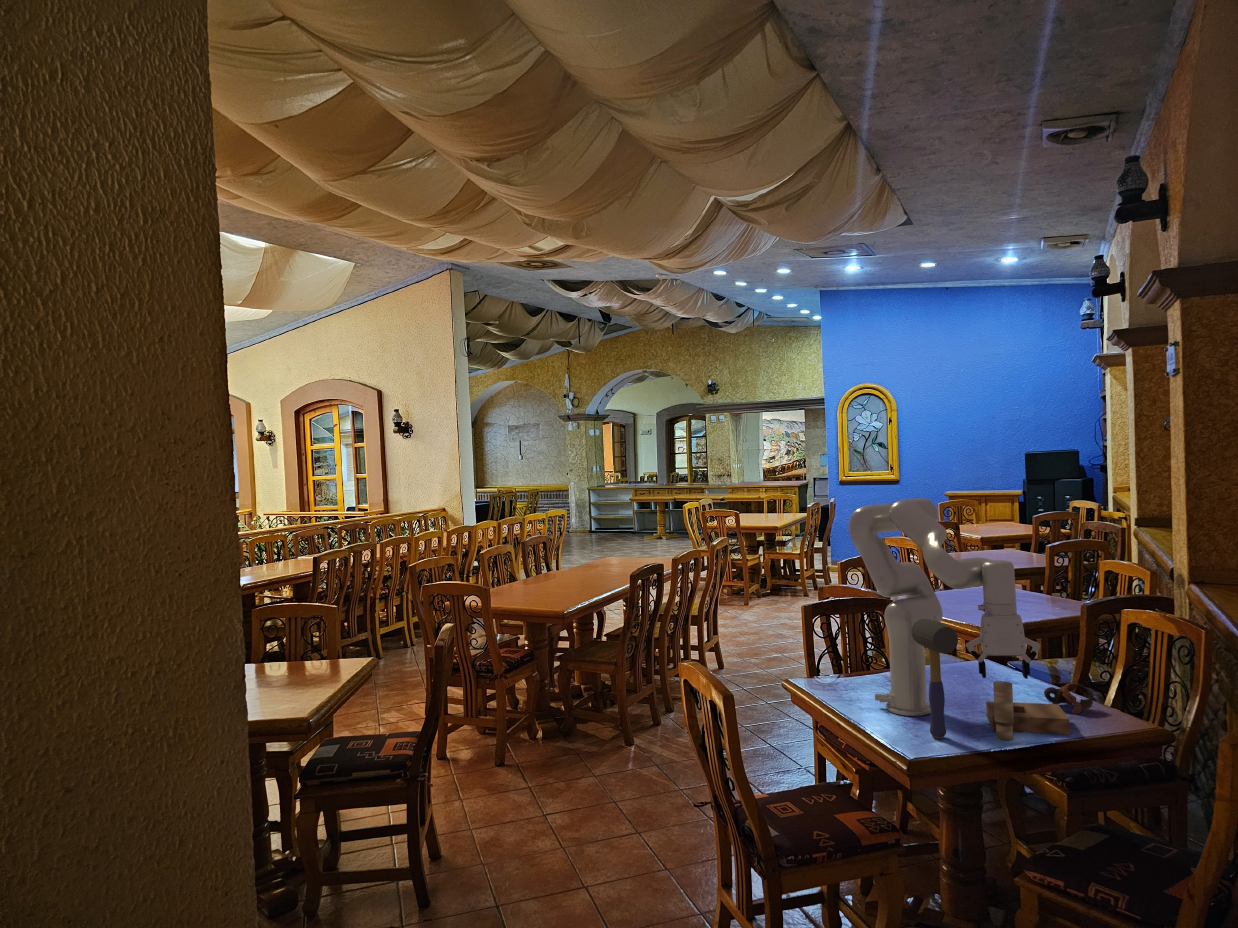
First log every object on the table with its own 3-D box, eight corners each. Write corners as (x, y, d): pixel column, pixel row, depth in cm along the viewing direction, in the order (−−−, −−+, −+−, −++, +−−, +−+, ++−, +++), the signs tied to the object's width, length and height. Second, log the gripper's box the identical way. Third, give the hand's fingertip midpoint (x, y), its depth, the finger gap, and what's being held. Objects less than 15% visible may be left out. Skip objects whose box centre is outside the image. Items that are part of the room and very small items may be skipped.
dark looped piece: (1081, 705, 238) (1092, 684, 234) (1088, 729, 230) (1100, 707, 226) (1037, 693, 240) (1047, 672, 236) (1042, 717, 232) (1053, 695, 228)
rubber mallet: (912, 731, 220) (908, 617, 220) (939, 728, 221) (935, 615, 221) (936, 746, 208) (932, 626, 208) (965, 744, 209) (960, 624, 209)
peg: (996, 740, 211) (994, 685, 210) (993, 734, 215) (991, 680, 215) (1016, 741, 209) (1014, 686, 209) (1013, 735, 214) (1011, 681, 214)
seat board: (993, 730, 218) (992, 715, 218) (986, 715, 230) (985, 701, 230) (1069, 734, 213) (1069, 718, 213) (1058, 718, 225) (1058, 703, 225)
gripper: (965, 612, 211) (969, 680, 210) (1040, 611, 206) (1045, 681, 205) (962, 607, 218) (966, 672, 218) (1034, 606, 213) (1039, 673, 213)
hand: (1004, 676), depth 212 cm, fingers open, 9 cm apart
